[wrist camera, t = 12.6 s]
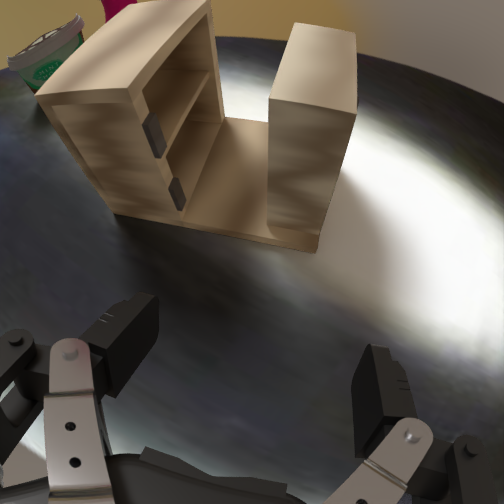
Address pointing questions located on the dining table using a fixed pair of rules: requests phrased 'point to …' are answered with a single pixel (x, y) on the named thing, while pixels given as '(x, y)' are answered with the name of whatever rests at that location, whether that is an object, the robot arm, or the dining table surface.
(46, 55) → the food container
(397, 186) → the dining table surface
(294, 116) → the door
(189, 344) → the dining table surface
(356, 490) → the robot arm
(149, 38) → the cabinet
